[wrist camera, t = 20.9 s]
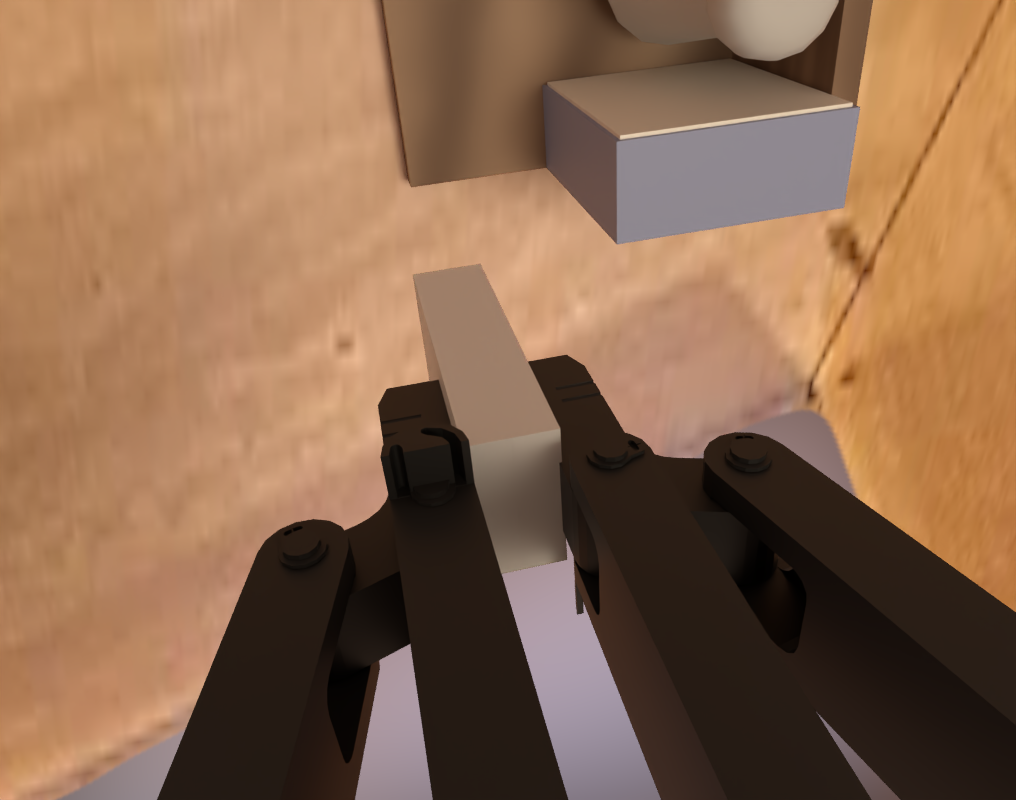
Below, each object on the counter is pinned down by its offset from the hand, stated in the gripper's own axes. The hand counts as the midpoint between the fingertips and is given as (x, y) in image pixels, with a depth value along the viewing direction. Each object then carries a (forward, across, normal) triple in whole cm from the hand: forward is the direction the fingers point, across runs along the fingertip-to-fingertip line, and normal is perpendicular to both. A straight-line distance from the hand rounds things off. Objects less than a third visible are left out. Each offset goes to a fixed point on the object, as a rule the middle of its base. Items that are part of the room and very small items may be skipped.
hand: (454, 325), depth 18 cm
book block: (+23, +13, -2) cm, 27 cm away
